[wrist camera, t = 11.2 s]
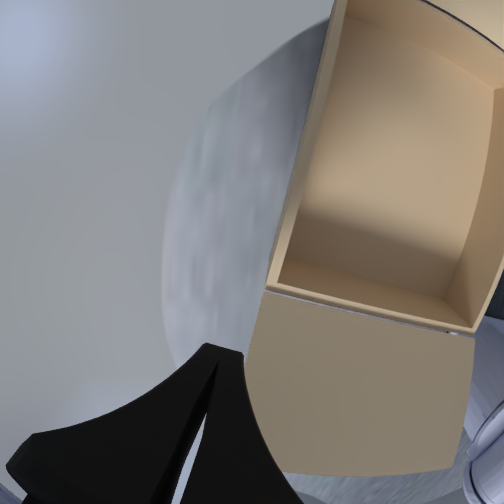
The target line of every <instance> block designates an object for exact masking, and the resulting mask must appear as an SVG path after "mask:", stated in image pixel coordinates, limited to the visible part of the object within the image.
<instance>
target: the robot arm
mask: <svg viewBox="0 0 504 504" xmlns="http://www.w3.org/2000/svg"><path fill="white" fill-rule="evenodd" d="M448 334H454V335H459V336H464V337H470V338H475V349H474V361H473V371H472V379H471V386H470V393H469V399H468V405H467V410H466V415H465V420H464V425H463V426H464V427H465V429H466V431H467V433H468V435H469V437H470V439H471V441H472V443H473V444H472V445H471V446H470V447H469V448H468V449H467V453H468V455H469V458H470V461H469V462H468V463H467V464H466V466H465V469H464V474H463V487H464V492H465V495H466V498H467V500H468V502H469V503H470V504H504V320H501V319H497V318H493V317H489V316H485V315H484V316H483V318H482V320H481V322H480V324H479V326H478V328H477V330H476V332H475V333H474V335H473V336H470V335H464V334H459V333H454V332H448ZM206 413H207V414H206ZM205 415H206V419H205V424H204V430H203V435H202V439H201V442H200V445H199V448H198V452H197V455H196V457H195V460H194V463H193V466H192V470H191V472H190V475H189V478H188V481H187V485H186V487H185V490H184V493H183V496H182V499H181V502H180V504H304V503H303V502H302V500H301V499H300V498H299V497H298V495H297V494H296V493H295V491H294V490H293V488H292V487H291V486H290V484H289V483H288V481H287V480H286V478H285V477H284V475H283V473H282V472H281V470H280V469H279V467H278V465H277V464H276V462H275V460H274V458H273V457H272V455H271V453H270V451H269V449H268V447H267V445H266V443H265V440H264V438H263V436H262V434H261V431H260V429H259V426H258V423H257V421H256V418H255V415H254V412H253V409H252V405H251V402H250V398H249V394H248V389H247V385H246V380H245V373H244V355H243V354H242V352H238V351H234V350H231V349H227V348H223V347H220V346H216V345H213V344H209V343H205V344H203V345H202V346H201V347H200V348H199V349H198V351H197V352H196V353H195V354H194V355H193V356H192V357H191V358H190V359H189V360H188V361H187V362H186V363H185V364H183V365H182V366H181V367H180V368H179V369H178V370H177V371H175V372H174V373H173V374H172V375H171V376H169V377H168V378H167V379H165V380H164V381H163V382H161V383H160V384H159V385H157V386H156V387H154V388H153V389H152V390H150V391H148V392H147V393H145V394H144V395H142V396H141V397H139V398H137V399H135V400H134V401H132V402H130V403H128V404H126V405H124V406H122V407H120V408H118V409H116V410H114V411H112V412H110V413H108V414H105V415H102V416H100V417H98V418H94V419H91V420H88V421H85V422H83V423H79V424H76V425H73V426H70V427H66V428H61V429H56V430H51V431H45V432H40V433H34V434H32V435H31V436H30V437H29V438H28V439H27V440H26V441H24V443H22V445H21V446H20V447H19V448H18V449H17V451H16V452H15V453H14V455H13V456H12V457H11V459H10V460H9V461H8V463H7V464H6V469H7V471H8V473H9V474H10V475H11V477H12V478H13V479H14V480H15V481H16V482H17V483H18V484H19V485H20V487H22V489H23V490H24V491H25V492H26V493H27V496H26V497H25V499H24V501H22V500H21V499H19V498H18V497H17V496H15V495H14V494H13V493H12V492H10V491H9V490H8V489H7V488H6V487H4V486H3V485H2V484H1V483H0V504H171V503H172V499H173V496H174V493H175V490H176V487H177V484H178V480H179V477H180V474H181V471H182V468H183V465H184V463H185V460H186V458H187V456H188V453H189V451H190V449H191V447H192V445H193V442H194V440H195V438H196V435H197V433H198V431H199V429H200V426H201V424H202V422H203V419H204V417H205Z"/></svg>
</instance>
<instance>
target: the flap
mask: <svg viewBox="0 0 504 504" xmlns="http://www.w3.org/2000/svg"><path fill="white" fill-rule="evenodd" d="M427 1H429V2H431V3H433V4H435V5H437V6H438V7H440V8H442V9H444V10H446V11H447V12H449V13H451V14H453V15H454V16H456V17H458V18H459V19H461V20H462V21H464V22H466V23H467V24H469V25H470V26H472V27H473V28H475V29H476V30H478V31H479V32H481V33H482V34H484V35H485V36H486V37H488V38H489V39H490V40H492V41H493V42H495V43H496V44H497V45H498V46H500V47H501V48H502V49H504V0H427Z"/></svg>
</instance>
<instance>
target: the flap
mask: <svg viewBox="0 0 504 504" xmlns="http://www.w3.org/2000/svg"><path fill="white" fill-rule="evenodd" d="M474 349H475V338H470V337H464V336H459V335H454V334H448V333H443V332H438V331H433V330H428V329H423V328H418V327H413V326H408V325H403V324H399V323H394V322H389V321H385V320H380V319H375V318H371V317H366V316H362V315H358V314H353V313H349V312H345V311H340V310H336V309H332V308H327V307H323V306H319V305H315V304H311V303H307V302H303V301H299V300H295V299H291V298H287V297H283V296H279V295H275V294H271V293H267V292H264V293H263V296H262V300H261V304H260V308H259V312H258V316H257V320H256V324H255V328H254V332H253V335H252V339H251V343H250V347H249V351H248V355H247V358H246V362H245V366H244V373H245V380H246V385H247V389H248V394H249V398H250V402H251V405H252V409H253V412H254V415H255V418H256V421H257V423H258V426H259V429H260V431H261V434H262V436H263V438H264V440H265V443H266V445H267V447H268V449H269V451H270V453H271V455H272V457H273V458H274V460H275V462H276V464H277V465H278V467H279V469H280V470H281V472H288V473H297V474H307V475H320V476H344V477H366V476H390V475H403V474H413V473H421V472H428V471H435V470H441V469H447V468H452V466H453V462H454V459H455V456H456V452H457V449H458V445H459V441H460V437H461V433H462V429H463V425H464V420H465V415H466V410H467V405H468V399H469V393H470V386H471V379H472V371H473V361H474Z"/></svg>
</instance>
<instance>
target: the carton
mask: <svg viewBox="0 0 504 504" xmlns="http://www.w3.org/2000/svg"><path fill="white" fill-rule="evenodd" d="M503 269H504V53H503V52H502V51H501V50H500V49H498V48H497V47H496V46H494V45H493V44H492V43H490V42H489V41H488V40H486V39H485V38H483V37H482V36H480V35H479V34H478V33H476V32H475V31H473V30H472V29H470V28H469V27H467V26H465V25H464V24H462V23H461V22H459V21H457V20H456V19H454V18H452V17H451V16H449V15H447V14H445V13H444V12H442V11H440V10H438V9H436V8H434V7H433V6H431V5H429V4H427V3H425V2H423V1H421V0H335V1H334V4H333V8H332V11H331V15H330V19H329V24H328V28H327V33H326V37H325V41H324V46H323V50H322V54H321V58H320V63H319V67H318V71H317V75H316V80H315V84H314V88H313V92H312V96H311V100H310V104H309V108H308V112H307V116H306V120H305V124H304V128H303V132H302V136H301V140H300V144H299V148H298V152H297V156H296V160H295V164H294V168H293V171H292V175H291V179H290V183H289V187H288V191H287V194H286V198H285V202H284V206H283V210H282V213H281V217H280V221H279V225H278V228H277V232H276V236H275V239H274V243H273V247H272V250H271V254H270V258H269V264H268V270H267V276H266V283H265V289H266V290H269V291H273V292H277V293H281V294H285V295H289V296H293V297H297V298H301V299H305V300H309V301H313V302H317V303H321V304H326V305H330V306H334V307H338V308H342V309H347V310H351V311H355V312H360V313H364V314H368V315H373V316H377V317H382V318H386V319H391V320H396V321H400V322H405V323H410V324H414V325H419V326H424V327H429V328H434V329H439V330H444V331H449V332H454V333H459V334H464V335H470V336H473V335H474V333H475V332H476V330H477V328H478V326H479V324H480V322H481V320H482V318H483V316H484V314H485V312H486V309H487V307H488V305H489V303H490V301H491V298H492V296H493V294H494V292H495V289H496V287H497V284H498V282H499V279H500V277H501V274H502V272H503Z"/></svg>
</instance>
